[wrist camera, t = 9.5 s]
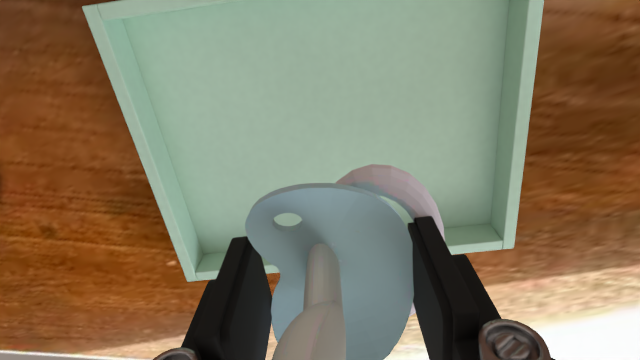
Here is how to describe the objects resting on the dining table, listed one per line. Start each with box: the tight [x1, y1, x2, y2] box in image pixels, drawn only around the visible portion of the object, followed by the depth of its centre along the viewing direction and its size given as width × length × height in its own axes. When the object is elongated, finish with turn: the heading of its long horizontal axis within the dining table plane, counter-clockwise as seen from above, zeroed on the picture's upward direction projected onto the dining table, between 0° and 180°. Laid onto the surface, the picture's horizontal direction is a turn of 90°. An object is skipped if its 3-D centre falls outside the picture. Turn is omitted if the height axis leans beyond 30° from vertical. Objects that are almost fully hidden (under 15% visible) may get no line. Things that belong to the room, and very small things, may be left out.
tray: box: [82, 0, 544, 282], centre depth 23 cm, size 24×19×3 cm
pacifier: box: [245, 164, 445, 360], centre depth 10 cm, size 7×6×6 cm
